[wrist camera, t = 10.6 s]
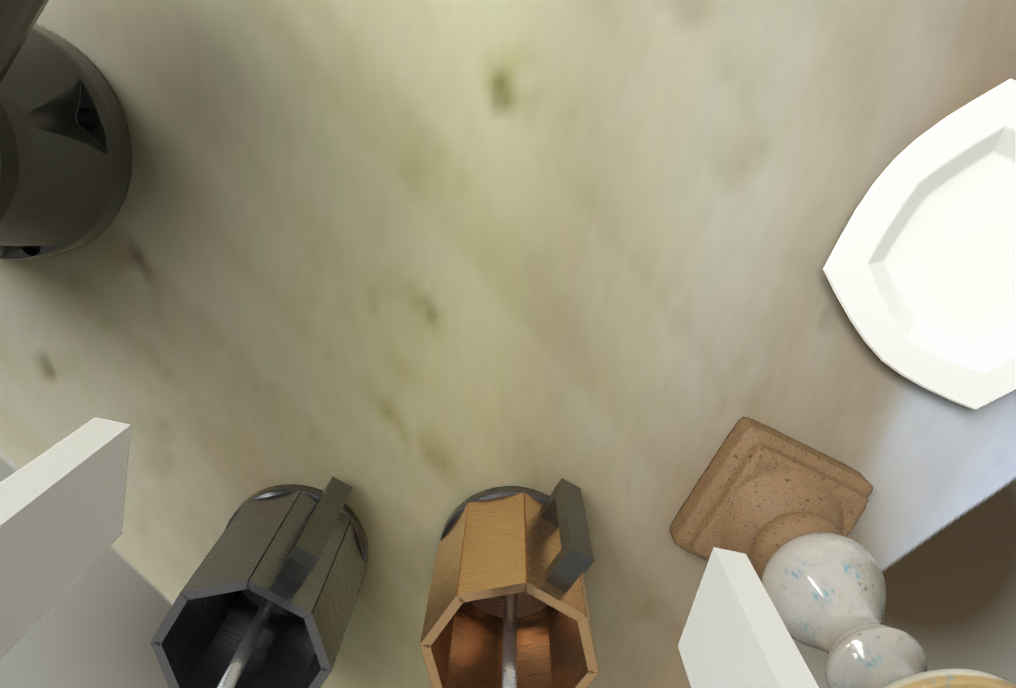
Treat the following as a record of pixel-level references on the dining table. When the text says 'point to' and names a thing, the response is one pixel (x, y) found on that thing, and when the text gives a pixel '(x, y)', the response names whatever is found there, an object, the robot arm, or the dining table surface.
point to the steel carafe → (270, 592)
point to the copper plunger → (510, 626)
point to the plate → (940, 256)
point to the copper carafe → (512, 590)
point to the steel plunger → (250, 637)
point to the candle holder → (809, 556)
